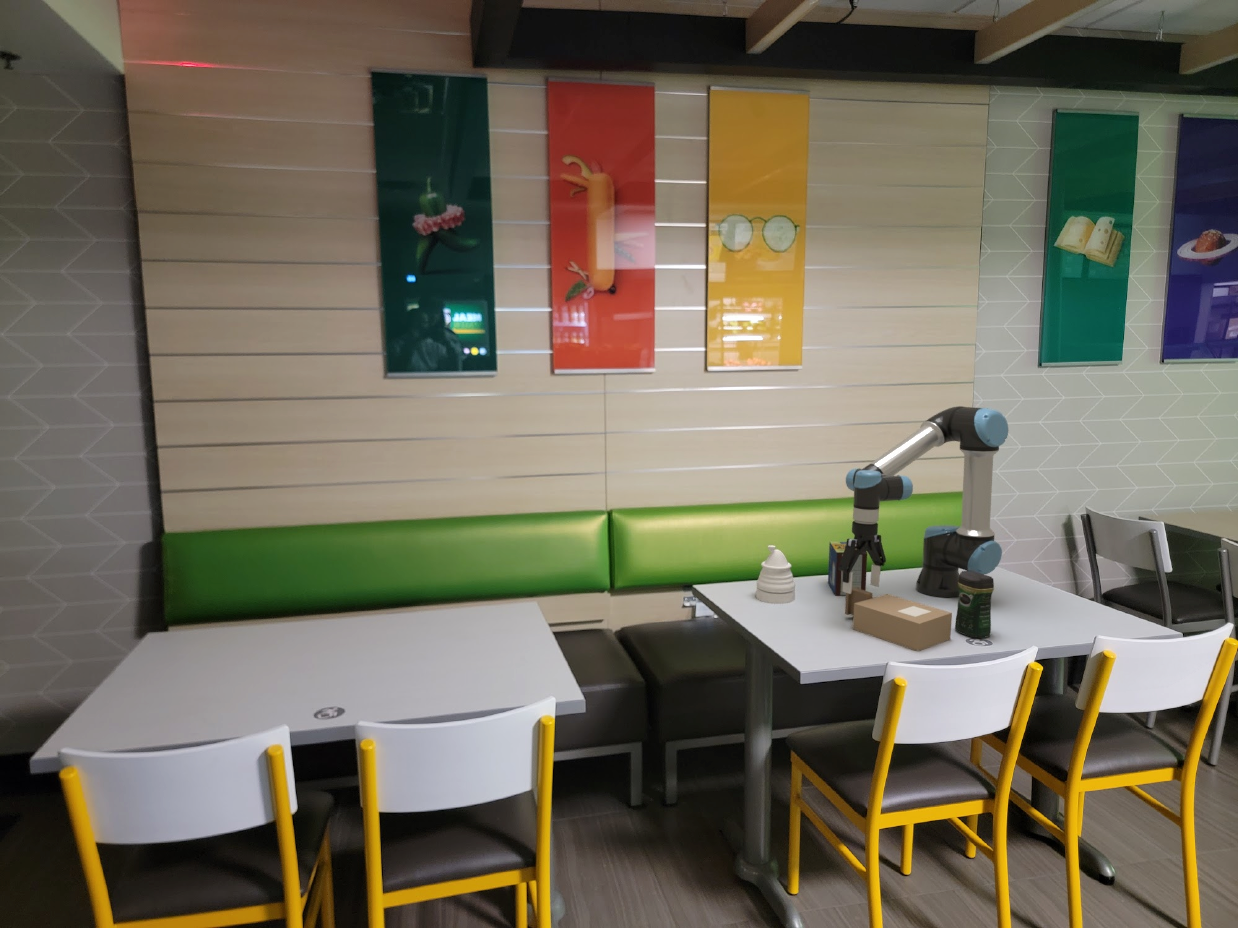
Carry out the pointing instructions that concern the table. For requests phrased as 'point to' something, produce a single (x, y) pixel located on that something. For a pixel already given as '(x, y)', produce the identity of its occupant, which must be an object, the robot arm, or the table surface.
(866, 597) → the tray
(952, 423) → the robot arm
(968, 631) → the coffee jar
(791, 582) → the honey pot
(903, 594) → the table surface
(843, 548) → the protein box
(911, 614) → the cardboard box
